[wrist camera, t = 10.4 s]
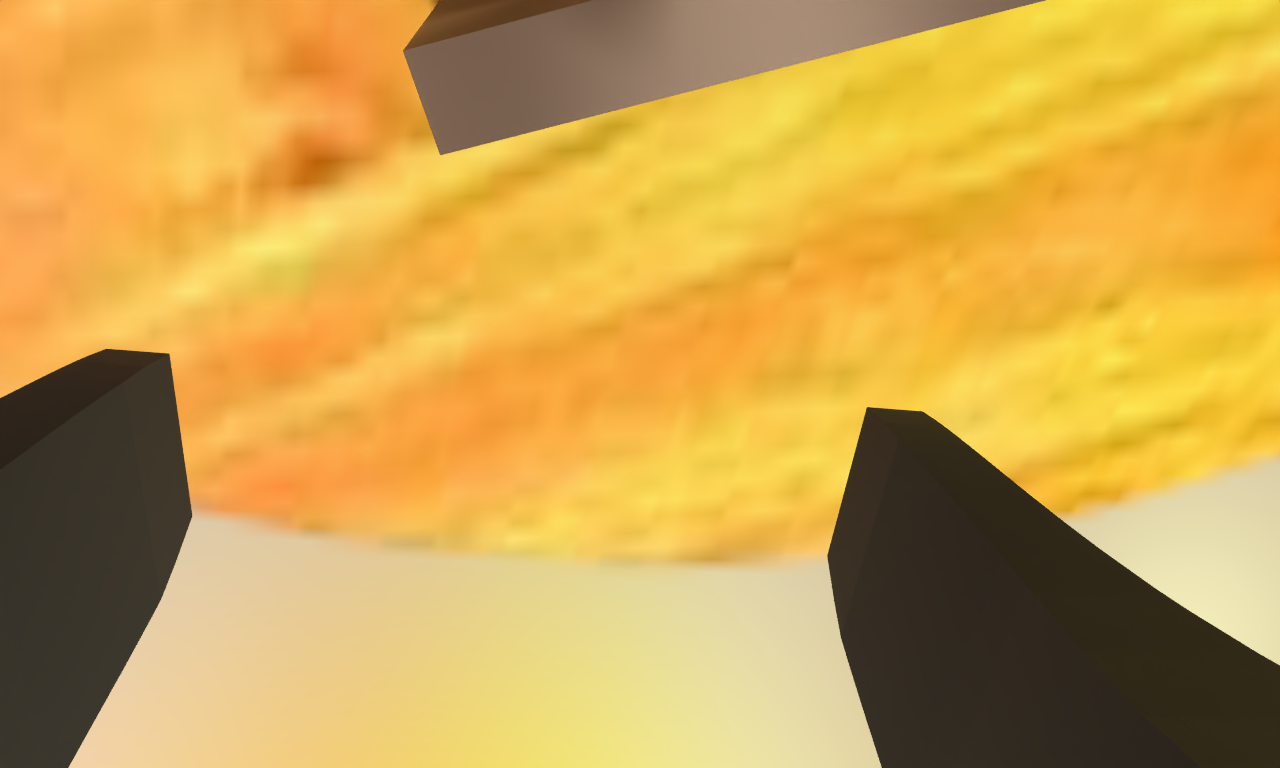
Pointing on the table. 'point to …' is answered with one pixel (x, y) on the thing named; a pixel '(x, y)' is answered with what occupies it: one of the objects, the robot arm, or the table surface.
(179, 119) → the table surface
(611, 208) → the table surface
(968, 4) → the board
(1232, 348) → the table surface
